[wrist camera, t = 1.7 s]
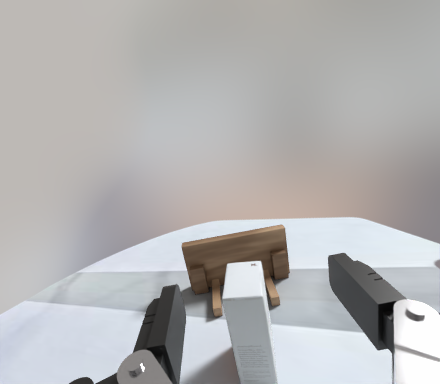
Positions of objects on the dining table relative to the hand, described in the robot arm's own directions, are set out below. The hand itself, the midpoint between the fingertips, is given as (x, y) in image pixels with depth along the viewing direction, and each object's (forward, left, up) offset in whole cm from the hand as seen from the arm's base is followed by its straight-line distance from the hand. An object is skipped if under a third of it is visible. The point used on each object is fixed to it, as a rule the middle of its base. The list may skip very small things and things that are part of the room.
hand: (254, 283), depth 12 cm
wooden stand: (-6, +22, -20) cm, 30 cm away
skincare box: (-3, +11, -20) cm, 23 cm away
